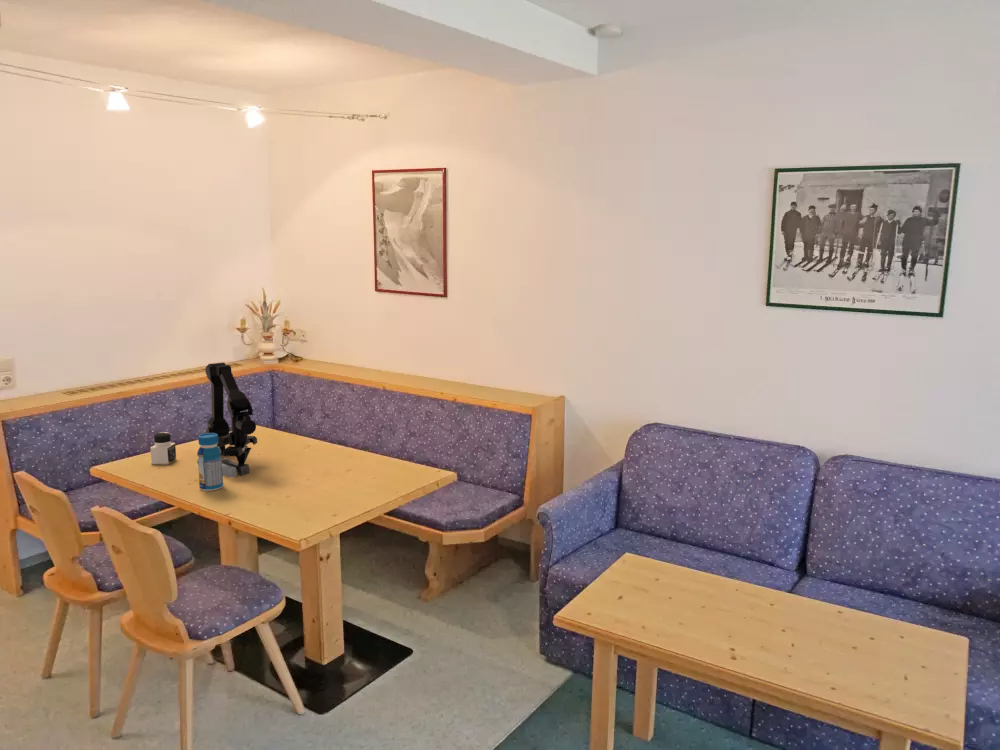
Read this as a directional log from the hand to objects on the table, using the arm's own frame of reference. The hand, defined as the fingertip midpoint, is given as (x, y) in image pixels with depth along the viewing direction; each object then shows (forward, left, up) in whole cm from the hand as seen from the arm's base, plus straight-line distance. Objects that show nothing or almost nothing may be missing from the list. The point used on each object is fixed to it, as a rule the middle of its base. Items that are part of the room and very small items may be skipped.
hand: (241, 466), depth 301 cm
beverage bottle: (+9, -19, -2) cm, 21 cm away
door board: (-5, -7, -2) cm, 9 cm away
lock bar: (-4, -2, -1) cm, 5 cm away
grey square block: (+4, -2, -2) cm, 5 cm away
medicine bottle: (-34, -12, -2) cm, 36 cm away
